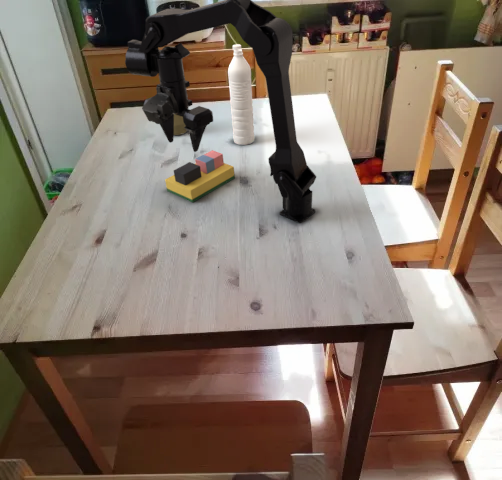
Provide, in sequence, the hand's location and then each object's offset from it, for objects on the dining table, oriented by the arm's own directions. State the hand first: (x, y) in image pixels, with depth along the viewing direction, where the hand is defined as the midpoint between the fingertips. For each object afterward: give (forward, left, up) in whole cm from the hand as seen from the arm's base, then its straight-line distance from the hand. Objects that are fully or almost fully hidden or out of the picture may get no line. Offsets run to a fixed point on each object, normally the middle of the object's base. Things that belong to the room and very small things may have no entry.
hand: (183, 146), depth 115 cm
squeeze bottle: (+32, -24, -12) cm, 42 cm away
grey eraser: (0, 0, -9) cm, 9 cm away
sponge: (0, -4, -12) cm, 13 cm away
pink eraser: (0, -8, -9) cm, 12 cm away
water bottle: (+10, -32, -12) cm, 36 cm away
